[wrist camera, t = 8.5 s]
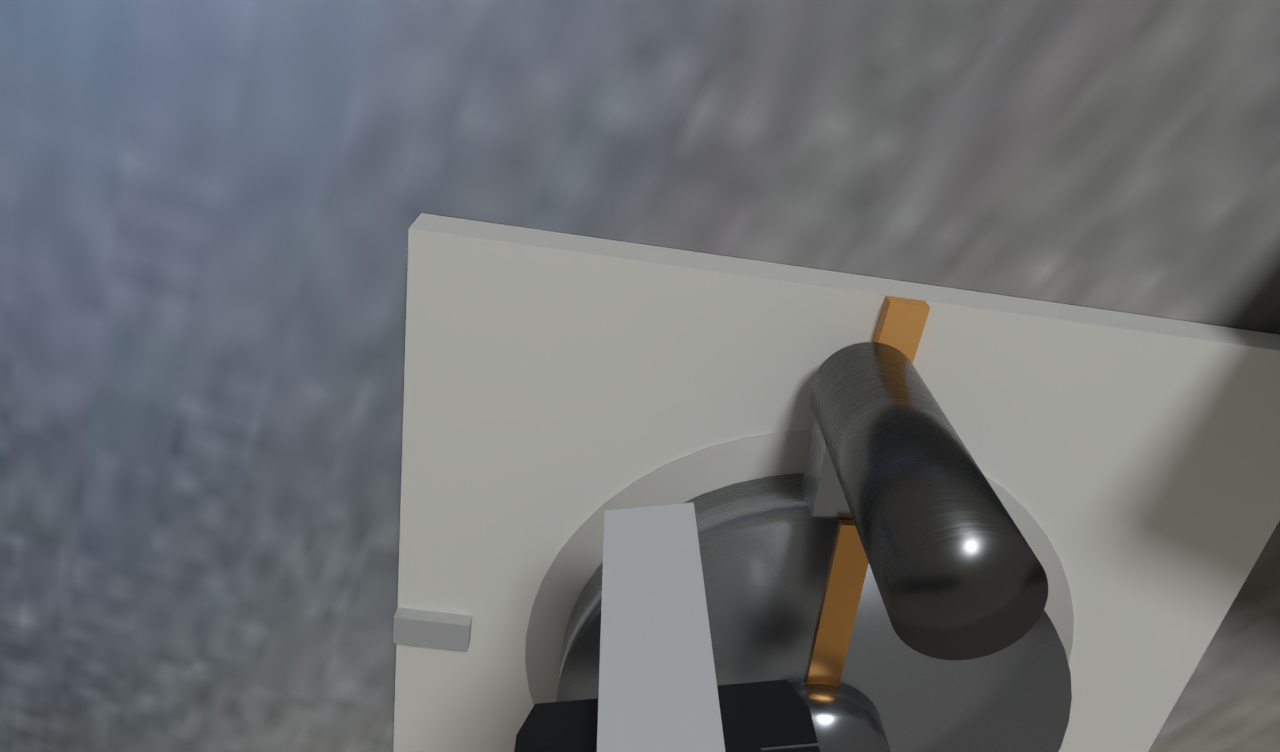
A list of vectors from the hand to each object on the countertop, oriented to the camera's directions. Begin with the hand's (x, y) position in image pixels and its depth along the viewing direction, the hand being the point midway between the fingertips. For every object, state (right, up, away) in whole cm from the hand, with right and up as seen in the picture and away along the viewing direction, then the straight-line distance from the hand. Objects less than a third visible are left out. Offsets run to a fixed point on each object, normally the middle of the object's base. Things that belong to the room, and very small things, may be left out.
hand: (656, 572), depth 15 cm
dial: (+4, -3, +8) cm, 10 cm away
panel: (+4, -4, +10) cm, 12 cm away
